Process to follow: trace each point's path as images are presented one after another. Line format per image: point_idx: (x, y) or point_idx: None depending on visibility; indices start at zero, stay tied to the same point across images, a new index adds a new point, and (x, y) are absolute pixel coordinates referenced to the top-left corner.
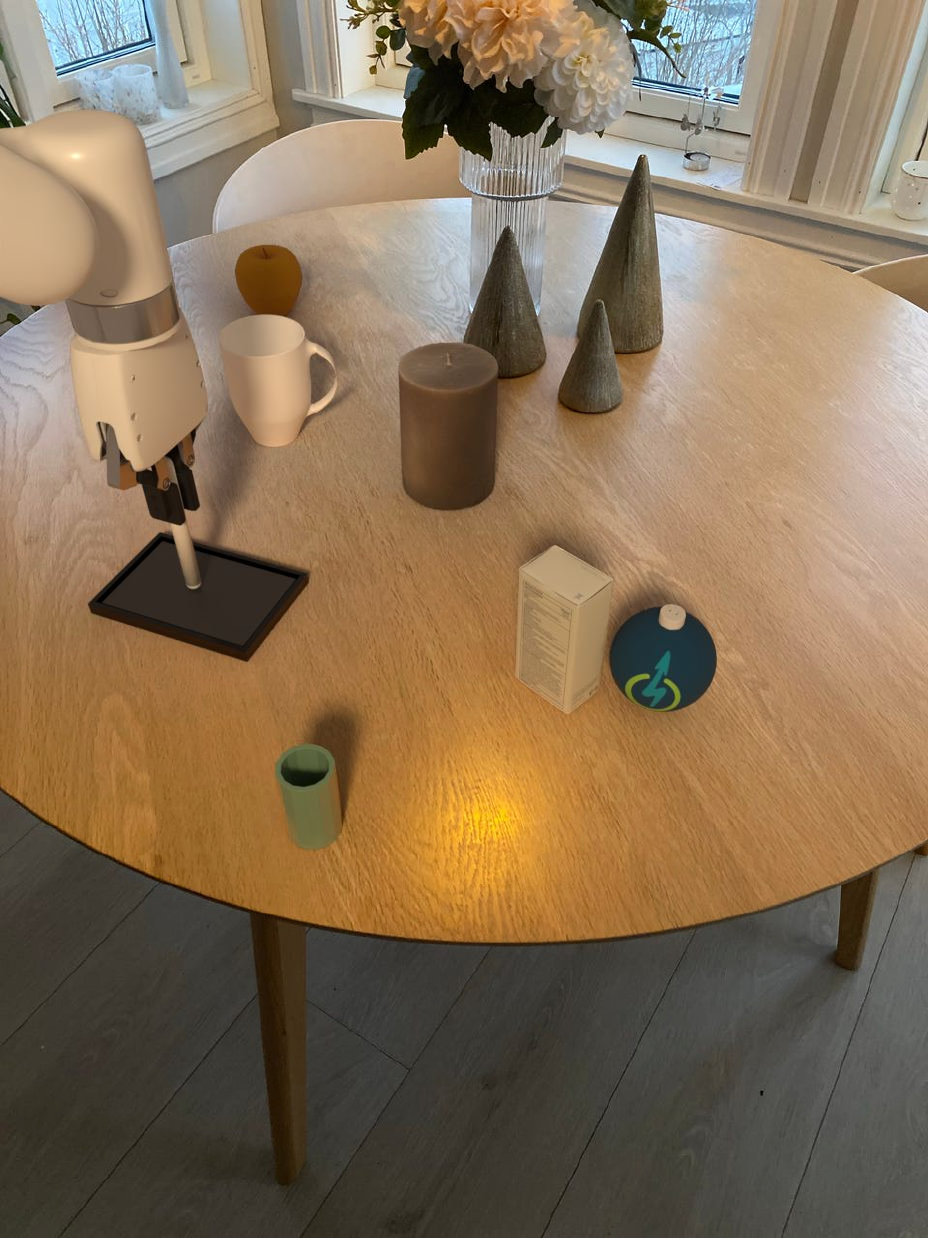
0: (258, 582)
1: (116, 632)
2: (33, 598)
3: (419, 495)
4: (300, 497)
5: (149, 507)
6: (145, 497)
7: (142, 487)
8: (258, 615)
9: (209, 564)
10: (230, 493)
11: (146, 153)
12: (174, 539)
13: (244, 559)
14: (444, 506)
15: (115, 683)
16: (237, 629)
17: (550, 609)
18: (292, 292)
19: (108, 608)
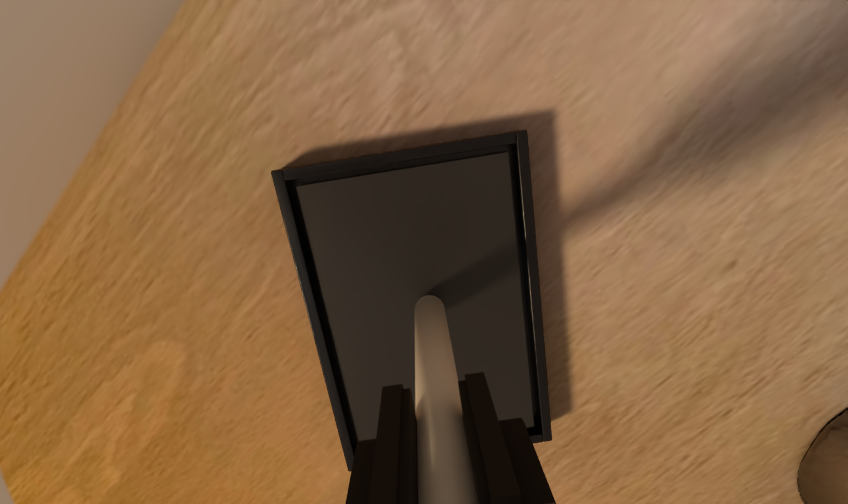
0: (496, 384)
1: (275, 247)
2: (235, 22)
3: (821, 471)
4: (758, 274)
5: (354, 461)
6: (377, 436)
7: (372, 472)
8: None
9: (494, 284)
10: (723, 141)
11: None
12: (417, 364)
13: (534, 334)
14: (806, 496)
15: (194, 330)
16: None
17: None
18: None
19: (285, 219)
